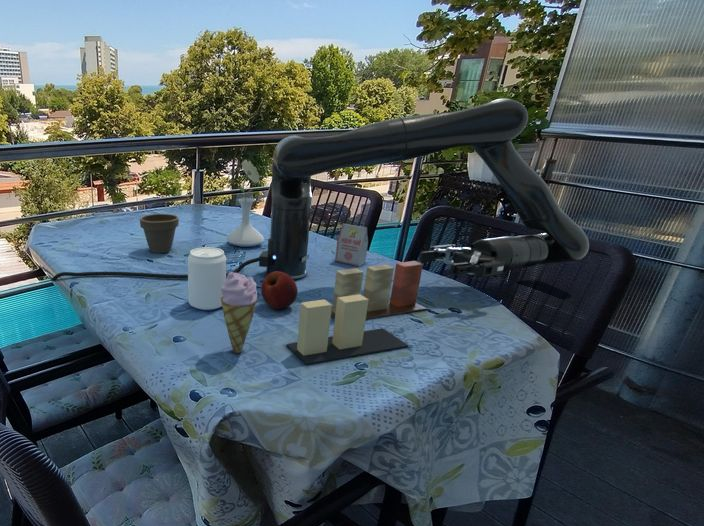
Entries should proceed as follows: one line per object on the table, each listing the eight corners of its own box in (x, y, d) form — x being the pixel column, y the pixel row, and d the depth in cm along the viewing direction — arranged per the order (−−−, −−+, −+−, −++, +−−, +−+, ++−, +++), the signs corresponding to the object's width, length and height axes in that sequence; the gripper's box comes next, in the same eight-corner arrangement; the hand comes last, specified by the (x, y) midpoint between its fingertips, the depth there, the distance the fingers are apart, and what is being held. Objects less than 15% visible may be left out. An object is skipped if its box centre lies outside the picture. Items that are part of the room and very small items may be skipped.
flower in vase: (266, 249, 138) (270, 162, 128) (228, 250, 138) (229, 163, 129) (259, 237, 150) (263, 157, 140) (224, 238, 150) (225, 158, 141)
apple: (253, 303, 102) (254, 269, 98) (282, 297, 104) (285, 263, 101) (272, 316, 95) (274, 280, 92) (303, 309, 98) (306, 274, 95)
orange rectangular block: (397, 307, 97) (404, 266, 93) (389, 303, 99) (396, 262, 95) (415, 304, 98) (423, 264, 94) (407, 300, 100) (414, 260, 96)
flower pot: (157, 242, 148) (155, 211, 144) (186, 248, 142) (186, 215, 138) (133, 252, 139) (131, 219, 135) (163, 258, 133) (162, 223, 129)
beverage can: (229, 299, 104) (230, 247, 100) (220, 313, 97) (221, 259, 93) (194, 295, 107) (194, 245, 102) (183, 309, 100) (182, 256, 95)
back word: (341, 323, 92) (346, 278, 88) (322, 309, 98) (326, 267, 94) (426, 310, 96) (435, 267, 92) (403, 297, 102) (410, 256, 99)
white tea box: (341, 257, 129) (345, 222, 125) (365, 262, 124) (370, 226, 120) (335, 260, 127) (339, 224, 123) (358, 266, 122) (363, 229, 118)
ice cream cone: (217, 342, 86) (217, 265, 80) (250, 340, 86) (253, 263, 80) (223, 360, 80) (224, 279, 74) (259, 358, 80) (263, 276, 74)
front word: (306, 365, 78) (310, 314, 74) (286, 345, 84) (289, 298, 80) (407, 347, 82) (417, 298, 79) (382, 330, 88) (389, 284, 85)
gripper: (474, 230, 105) (413, 237, 102) (534, 247, 92) (467, 256, 89) (467, 261, 108) (408, 269, 104) (524, 282, 95) (459, 292, 92)
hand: (435, 263), depth 97 cm, fingers open, 8 cm apart
